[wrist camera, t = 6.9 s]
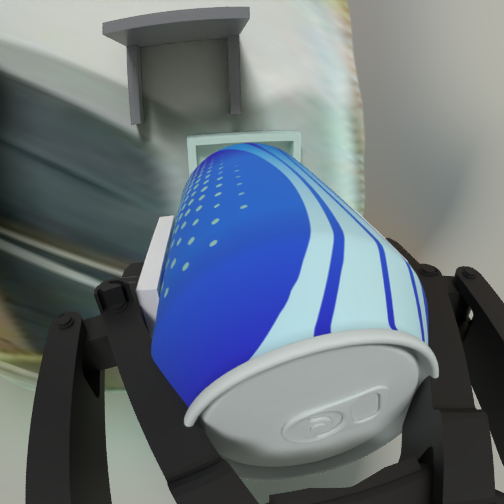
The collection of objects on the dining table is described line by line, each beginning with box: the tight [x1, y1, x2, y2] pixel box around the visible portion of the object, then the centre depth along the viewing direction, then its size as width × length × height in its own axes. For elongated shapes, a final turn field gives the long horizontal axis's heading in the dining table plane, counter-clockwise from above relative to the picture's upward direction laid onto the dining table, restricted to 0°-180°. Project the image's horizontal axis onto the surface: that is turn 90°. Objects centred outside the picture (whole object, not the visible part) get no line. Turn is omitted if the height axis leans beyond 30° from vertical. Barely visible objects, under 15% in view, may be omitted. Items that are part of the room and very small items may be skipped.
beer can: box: [151, 143, 439, 480], centre depth 14 cm, size 8×8×16 cm
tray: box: [187, 130, 301, 175], centre depth 41 cm, size 14×14×2 cm
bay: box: [103, 7, 250, 125], centre depth 29 cm, size 13×11×12 cm
